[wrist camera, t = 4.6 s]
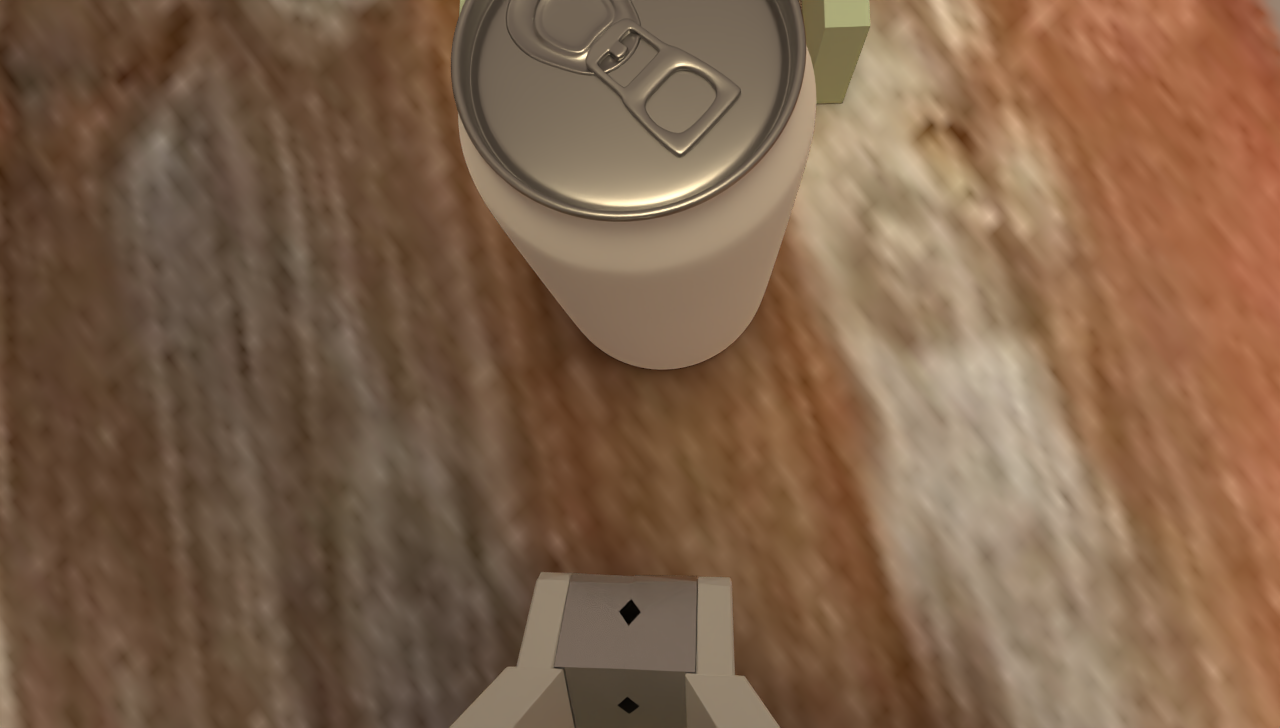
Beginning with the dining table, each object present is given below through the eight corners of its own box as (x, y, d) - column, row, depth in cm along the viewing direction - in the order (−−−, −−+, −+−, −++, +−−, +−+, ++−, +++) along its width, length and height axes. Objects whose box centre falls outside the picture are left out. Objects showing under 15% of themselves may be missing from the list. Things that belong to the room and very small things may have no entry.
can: (656, 138, 24) (613, -201, 12) (809, 262, 23) (925, 21, 11) (521, 282, 24) (341, 73, 12) (671, 415, 22) (637, 335, 11)
